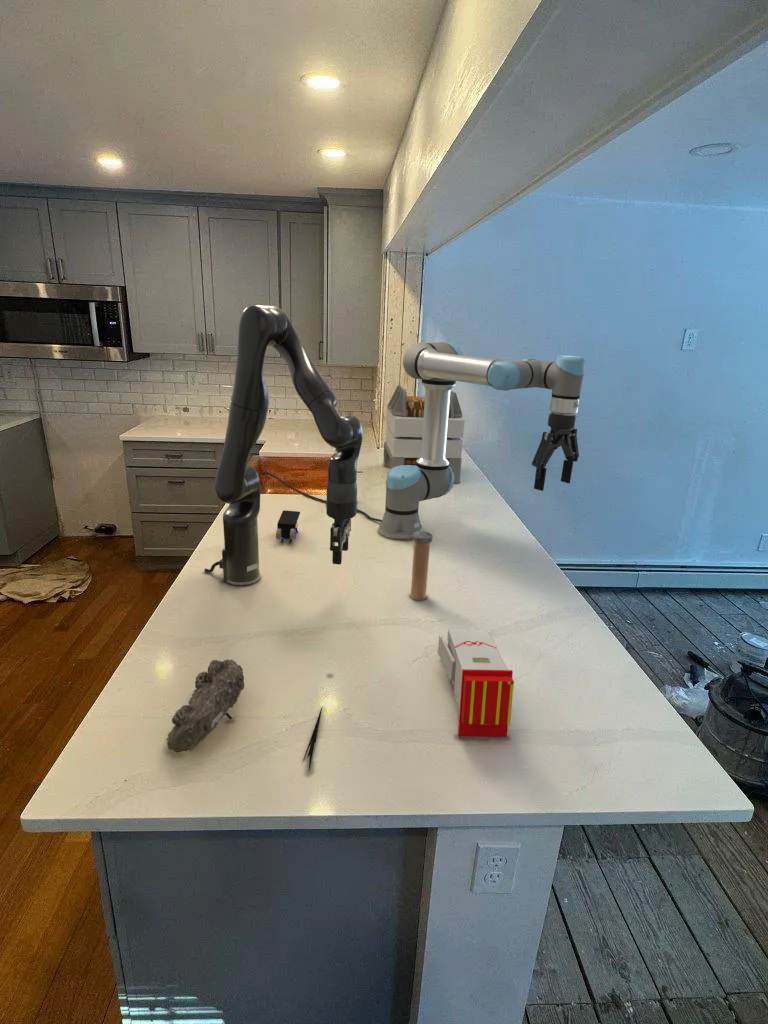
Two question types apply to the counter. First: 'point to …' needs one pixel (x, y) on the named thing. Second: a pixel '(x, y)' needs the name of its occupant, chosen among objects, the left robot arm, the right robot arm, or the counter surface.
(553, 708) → the counter surface
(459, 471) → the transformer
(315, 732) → the feather
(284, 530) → the black wheeled rover
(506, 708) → the toy
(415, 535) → the lid
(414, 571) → the jar
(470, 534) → the counter surface
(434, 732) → the counter surface
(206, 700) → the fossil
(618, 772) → the counter surface
